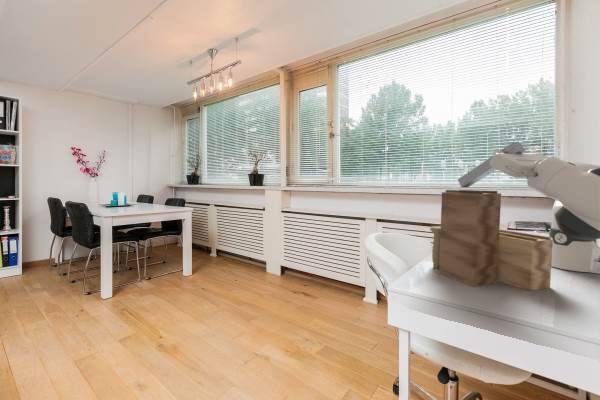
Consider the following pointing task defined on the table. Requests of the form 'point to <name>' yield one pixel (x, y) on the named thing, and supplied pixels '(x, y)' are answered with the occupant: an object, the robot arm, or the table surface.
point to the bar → (488, 166)
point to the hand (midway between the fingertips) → (502, 152)
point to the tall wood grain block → (470, 236)
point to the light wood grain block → (524, 260)
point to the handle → (436, 246)
